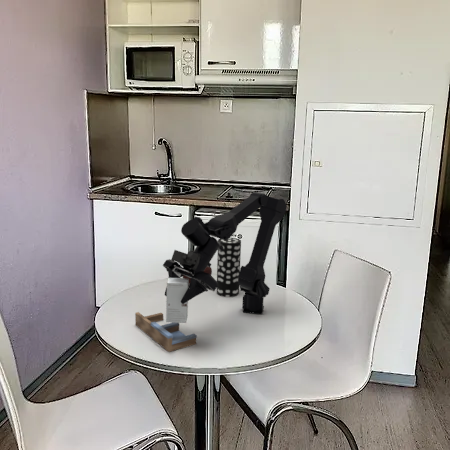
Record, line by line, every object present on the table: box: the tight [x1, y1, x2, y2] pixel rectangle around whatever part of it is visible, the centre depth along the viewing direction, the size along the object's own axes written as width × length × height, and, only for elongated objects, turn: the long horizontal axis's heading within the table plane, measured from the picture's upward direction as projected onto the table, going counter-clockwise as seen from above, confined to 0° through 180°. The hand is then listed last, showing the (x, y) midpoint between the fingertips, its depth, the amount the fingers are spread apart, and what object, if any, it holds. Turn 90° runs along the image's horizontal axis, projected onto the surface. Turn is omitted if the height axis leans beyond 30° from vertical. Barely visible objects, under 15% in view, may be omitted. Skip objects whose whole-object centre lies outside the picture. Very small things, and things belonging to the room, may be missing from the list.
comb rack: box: [135, 311, 198, 353], centre depth 146 cm, size 21×9×5 cm, turn 36°
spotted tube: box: [216, 237, 242, 298], centre depth 179 cm, size 8×8×20 cm
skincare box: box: [165, 277, 190, 324], centre depth 140 cm, size 6×4×12 cm
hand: (173, 299), depth 139 cm, fingers closed on skincare box, 7 cm apart
